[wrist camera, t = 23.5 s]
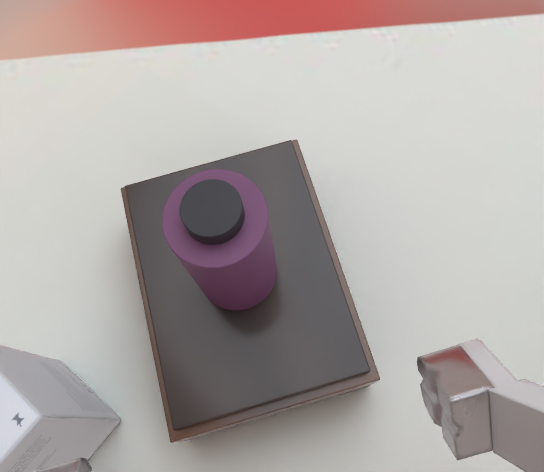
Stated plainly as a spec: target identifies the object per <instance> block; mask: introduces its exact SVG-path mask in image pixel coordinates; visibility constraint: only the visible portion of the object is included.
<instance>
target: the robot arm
mask: <svg viewBox="0 0 544 472" xmlns="http://www.w3.org/2000/svg"><path fill="white" fill-rule="evenodd" d="M417 365H418V371H419V372H420V374H421V376H422V377H423V381H422V383H421V384H420V386H421V392H422V396H423V400H424V403H425V406H426V408H427V410H428V412H429V415H430V416H431V418H432V420H433V422H434V423H435V424H437V425H439V426H441V427H442V432H443V438H444V440H445V441H446V443H447V445H448V446H449V448H450V449H451V451H452V453H453V454H454V456H455V458H456V459H457V460H460V459H463V458H467V457H471V456H474V455H478V454H482V453H485V452H489V451H492V450H493V452H494V453H496V454H497V455H499V456H500V457H502V458H504V459H505V460H507V461H509V462H510V463H512V464H514V465H515V466H517V467H518V468H520V469H522V470H523V471H525V472H544V386H541V385H538V384H536V383H533V382H530V381H528V380H525V379H523V380H519V381H518V380H517V379H516V378H515V377H514V376H513V375H512V374H511V373H510V372H509V371H508V369H507V368H506V367H505V366H504V365H503V364H502V363H501V362H500V361H499V360H498V359H497V357H496V356H495V355H494V354H493V353H492V352H491V351H490V350H489V349H488V348H487V347H486V346H485V344H484V343H483V342H482V341H481V340H479V339H474V340H471V341H467V342H464V343H461V344H458V345H457V346H452V347H449V348H446V349H443V350H439V351H436V352H433V353H430V354H426V355H423V356H420V357H418V359H417ZM91 469H92V468H91V466H90V464H89V463H88V461H87V460H86V458H77V459H74V460H70V461H66V462H63V463H59V464H55V465H52V466H48V467H44V468H41V469H39V470H35V471H31V472H91Z"/></svg>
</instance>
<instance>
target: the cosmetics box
mask: <svg viewBox="0 0 544 472" xmlns="http://www.w3.org/2000/svg"><path fill="white" fill-rule="evenodd" d="M119 422H120V418H119V417H118V416H117V415H116V414H115V413H114V412H113V411H112V410H111V409H110V408H109V407H108V406H107V405H106V404H105V403H104V402H103V401H102V400H101V399H100V398H99V397H98V396H97V395H96V394H95V393H94V392H93V391H92V390H90V389H89V388H88V387H87V386H86V385H85V384H84V383H83V382H82V381H81V380H80V379H79V378H78V377H77V376H76V375H75V374H74V373H73V372H72V371H71V370H70V369H69V368H68V367H67V366H65V365H64V364H63V363H62V362H61V361H59V360H55V359H51V358H47V357H43V356H39V355H35V354H32V353H28V352H24V351H20V350H16V349H12V348H9V347H5V346H1V345H0V472H31V471H35V470H39V469H41V468H44V467H48V466H52V465H55V464H59V463H63V462H66V461H70V460H74V459H77V458H86V460H87V461H88V459H89V458H90V457H91V456H92V455H93V453H94V452H95V451H96V450H97V449H98V447H99V446H100V445H101V444H102V443H103V441H104V440H105V439H106V438H107V436H108V435H109V434H110V433H111V432H112V431H113V429H114V428H115V427H116V426H117V425H118V424H119Z"/></svg>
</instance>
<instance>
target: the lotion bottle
mask: <svg viewBox="0 0 544 472" xmlns="http://www.w3.org/2000/svg"><path fill="white" fill-rule="evenodd" d="M162 230H163V234H164V237H165V240H166V242H167V244H168V246H169V247H170V249H171V250H172V251H173V253H174V254H175V255H176V257H177V258H178V259H179V261H180V262H181V263H182V265H183V266H184V267H185V269H186V270H187V271H188V273H189V274H190V275H191V277H192V278H193V279H194V281H195V282H196V283H197V285H198V286H199V287H200V289H201V290H202V291H203V293H204V294H205V295H206V297H207V298H208V299H209V300H210V301H211V302H212V303H214V304H215V305H217V306H219V307H221V308H224V309H228V310H244V309H248V308H251V307H254V306H256V305H257V304H259V303H260V302H262V301H263V300H264V299H265V298H266V297H267V296H268V295H269V293H270V292H271V290H272V289H273V287H274V284H275V281H276V277H277V265H276V259H275V252H274V246H273V239H272V233H271V226H270V220H269V214H268V208H267V203H266V201H265V198H264V196H263V194H262V192H261V191H260V189H259V188H258V187H257V186H256V185H255V184H254V183H253V182H252V181H251V180H250V179H248V178H247V177H245V176H244V175H242V174H239V173H237V172H234V171H230V170H224V169H212V170H206V171H202V172H199V173H196V174H194V175H192V176H190V177H188V178H187V179H185V180H184V181H182V182H181V183H180V184H179V185H178V186H177V187H176V188H175V189H174V190H173V192H172V193H171V194H170V196H169V198H168V199H167V201H166V204H165V206H164V210H163V214H162Z"/></svg>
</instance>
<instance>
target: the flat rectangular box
mask: <svg viewBox="0 0 544 472" xmlns="http://www.w3.org/2000/svg"><path fill="white" fill-rule="evenodd" d="M212 169H224V170H230V171H234V172H237V173H239V174H242V175H244V176H245V177H247V178H248V179H250V180H251V181H252V182H253V183H254V184H255V185H256V186H257V187H258V188H259V189H260V191H261V192H262V194H263V196H264V198H265V201H266V203H267V208H268V214H269V220H270V226H271V233H272V239H273V246H274V252H275V259H276V265H277V277H276V281H275V284H274V287H273V289H272V290H271V292H270V293H269V295H268V296H267V297H266V298H265V299H264V300H263V301H262V302H260V303H259V304H257V305H256V306H254V307H251V308H248V309H244V310H228V309H224V308H221V307H219V306H217V305H215V304H214V303H212V302H211V301H210V300H209V299H208V298H207V297H206V295H205V294H204V293H203V291H202V290H201V289H200V287H199V286H198V285H197V283H196V282H195V281H194V279H193V278H192V277H191V275H190V274H189V273H188V271H187V270H186V269H185V267H184V266H183V265H182V263H181V262H180V261H179V259H178V258H177V257H176V255H175V254H174V253H173V251H172V250H171V249H170V247H169V246H168V244H167V242H166V240H165V237H164V234H163V230H162V214H163V210H164V206H165V204H166V201H167V199H168V198H169V196H170V194H171V193H172V192H173V190H174V189H175V188H176V187H177V186H178V185H179V184H180V183H181V182H182V181H184V180H185V179H187V178H188V177H190V176H192V175H194V174H196V173H199V172H202V171H206V170H212ZM121 193H122V198H123V203H124V208H125V213H126V218H127V223H128V228H129V233H130V238H131V244H132V249H133V254H134V259H135V264H136V269H137V274H138V279H139V284H140V289H141V294H142V299H143V304H144V310H145V315H146V320H147V325H148V330H149V335H150V340H151V345H152V350H153V355H154V360H155V365H156V371H157V376H158V381H159V386H160V391H161V396H162V401H163V406H164V411H165V416H166V421H167V426H168V431H169V437H170V442H179V441H186V440H191V439H195V438H198V437H201V436H204V435H208V434H211V433H214V432H218V431H221V430H224V429H228V428H231V427H234V426H238V425H241V424H244V423H248V422H251V421H254V420H257V419H261V418H264V417H267V416H271V415H274V414H277V413H281V412H284V411H287V410H291V409H294V408H297V407H301V406H304V405H307V404H310V403H314V402H317V401H320V400H324V399H327V398H330V397H334V396H337V395H340V394H344V393H347V392H350V391H354V390H357V389H360V388H364V387H367V386H369V385H371V384H373V383H375V382H377V381H378V380H380V377H379V374H378V371H377V368H376V366H375V363H374V360H373V357H372V354H371V351H370V348H369V345H368V343H367V340H366V337H365V334H364V331H363V328H362V325H361V322H360V320H359V317H358V314H357V311H356V308H355V305H354V302H353V299H352V296H351V294H350V291H349V288H348V285H347V282H346V279H345V276H344V273H343V271H342V268H341V265H340V262H339V259H338V256H337V253H336V250H335V248H334V245H333V242H332V239H331V236H330V233H329V230H328V227H327V225H326V222H325V219H324V216H323V213H322V210H321V207H320V204H319V201H318V199H317V196H316V193H315V190H314V187H313V184H312V181H311V178H310V176H309V173H308V170H307V167H306V164H305V161H304V158H303V155H302V153H301V150H300V147H299V144H298V141H297V140H293V141H291V140H290V141H286V142H282V143H279V144H275V145H272V146H268V147H264V148H261V149H257V150H254V151H250V152H246V153H243V154H239V155H235V156H232V157H228V158H225V159H221V160H217V161H214V162H210V163H207V164H203V165H199V166H196V167H192V168H188V169H185V170H181V171H178V172H174V173H170V174H167V175H163V176H160V177H156V178H152V179H149V180H145V181H142V182H138V183H134V184H131V185H127V186H125V187H123V188H121Z"/></svg>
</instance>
